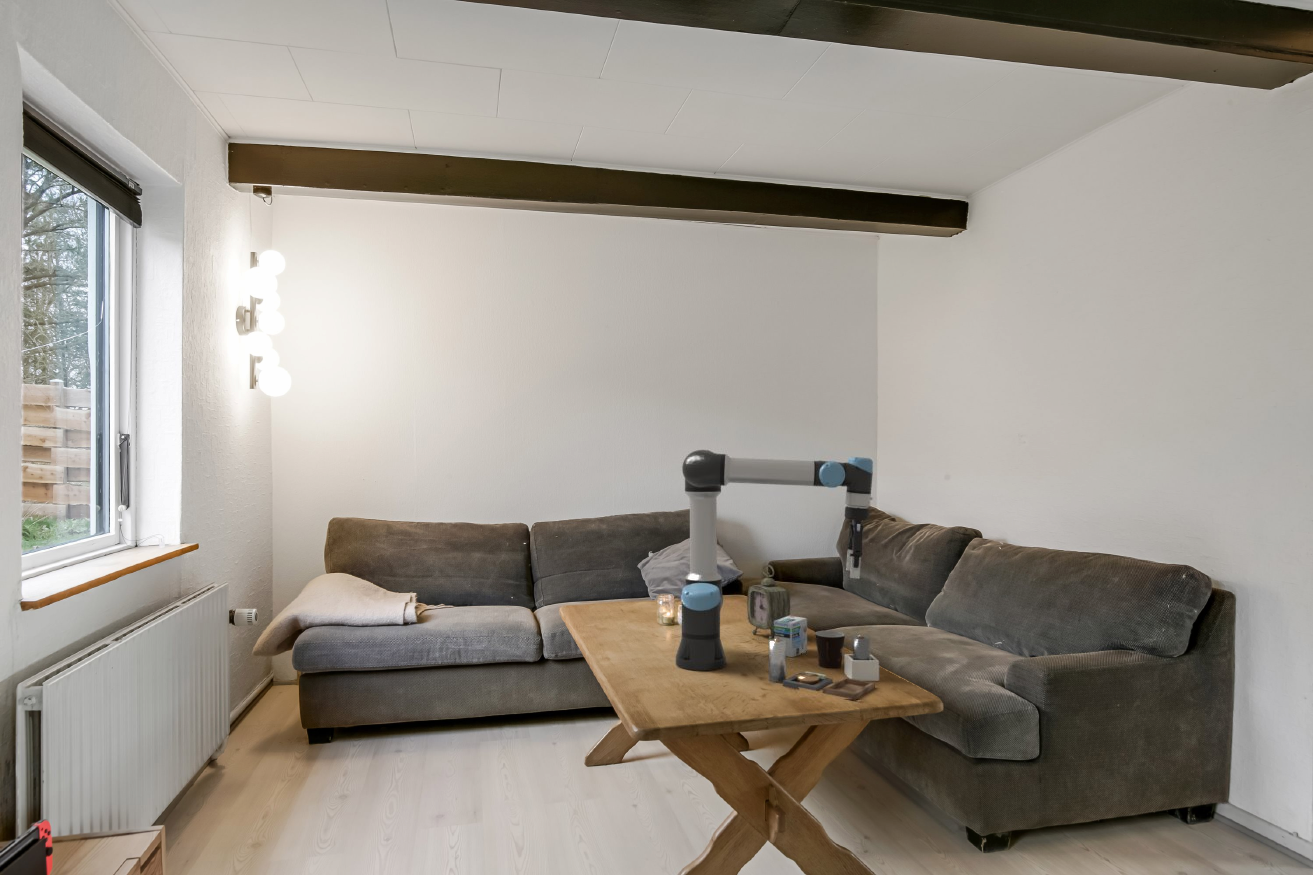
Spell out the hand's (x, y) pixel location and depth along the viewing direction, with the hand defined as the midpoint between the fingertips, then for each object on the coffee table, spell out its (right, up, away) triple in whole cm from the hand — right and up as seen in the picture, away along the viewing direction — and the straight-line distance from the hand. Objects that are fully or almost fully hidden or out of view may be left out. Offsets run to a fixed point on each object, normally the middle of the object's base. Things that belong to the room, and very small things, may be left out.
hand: (852, 574), depth 249 cm
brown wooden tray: (-10, -25, -37) cm, 46 cm away
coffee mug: (-11, -26, -14) cm, 31 cm away
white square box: (-3, -25, -24) cm, 35 cm away
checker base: (-20, -25, -30) cm, 44 cm away
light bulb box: (-18, -26, +5) cm, 33 cm away
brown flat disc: (-20, -24, -30) cm, 43 cm away
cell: (-27, -25, -26) cm, 45 cm away
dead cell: (-3, -25, -24) cm, 35 cm away
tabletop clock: (-22, -27, +27) cm, 44 cm away
